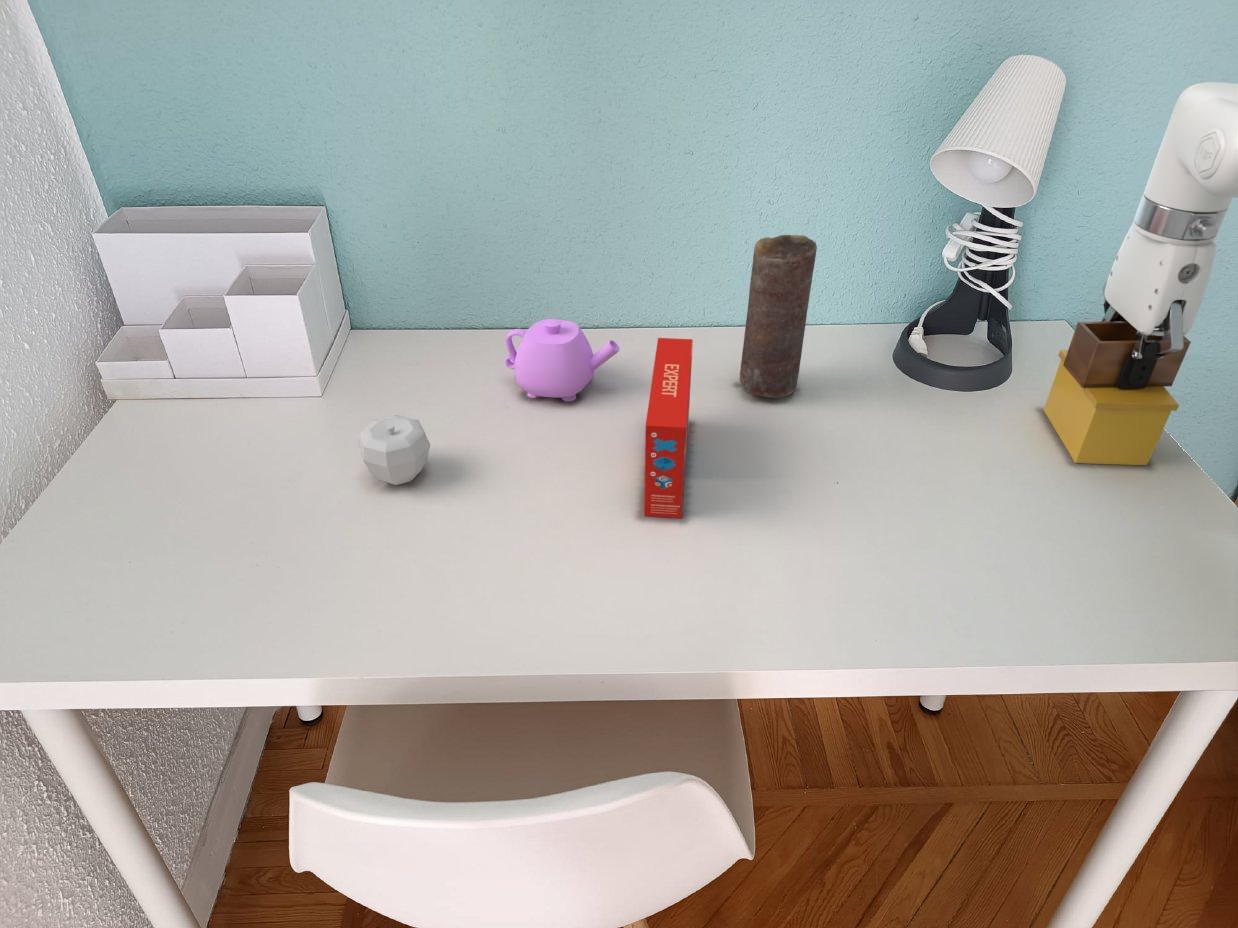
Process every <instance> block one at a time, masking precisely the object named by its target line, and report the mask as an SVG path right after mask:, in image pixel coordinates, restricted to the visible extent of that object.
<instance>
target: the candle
mask: <svg viewBox="0 0 1238 928" xmlns="http://www.w3.org/2000/svg"><path fill="white" fill-rule="evenodd" d="M817 250H818V245H817V242H816V241H814V239H811V238H809V237H808V236H806V235H802V234H781V235H778V236H775V237H769V236H768V237H767V236H766V237H763V238H760V239H759V240H758V241H756V242H755V244H754V248H753V255H752V266H751V274H750V281H749V292H748V303H747V312H746V318H745V329H744V336H743V344H742V345H743V346H742V352H741V359H740V361H741V362H740V371H739V383H740V385H741V387H742V389H743V390H744V391H745V392H746V393H747V394H748V395H752V396H755V397H766V398H774V399H775V398H776V399H779V398H783V397H785V396H787V395H790V394H793V393H794V391H795V390H796V389H797V386H798V380H799V375H800V368H801V360H802V355H803V353H802V352H803V346H804V338H805V332H806V323H807V316H808V310H809V304H810V303H809V302H810V295H811V289H812V283H813V277H814V276H813V275H814V269H815V263H816V257H817Z"/></svg>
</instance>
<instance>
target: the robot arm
mask: <svg viewBox="0 0 1238 928" xmlns="http://www.w3.org/2000/svg"><path fill="white" fill-rule="evenodd" d="M1233 198H1238V83H1234V82H1233V83H1232V82H1223V81H1206V82H1199V83H1195V84H1192V85H1189V86H1188V87H1187V88H1186V89H1184V90H1183V91H1182V92H1181V93H1180V95H1179V96H1178V98H1177V100H1176V102H1175V103H1174V107H1173V110H1172V113H1171V116H1170V117H1169V121H1168V124H1167V127H1166V129H1165V132H1164V134H1163V138H1162V141H1161V143H1160V146H1159V149H1158V152H1157V154H1156V157H1155V160H1154V163H1153V165H1152V169H1151V171H1150V174H1149V177H1148V180H1147V183H1146V185H1145V188H1144V191H1143V194H1142V196H1141V199H1140V202H1139V204H1138V208H1137V210H1136V212H1135V215H1134V218H1133V221H1132V224H1131V226H1130V227H1129V229H1128V231H1127V233H1126V235H1125V237H1124V239H1123V241H1122V243H1121V245H1120V248H1119V250H1118V252H1117V255H1116V257H1115V259H1114V261H1113V264H1112V267H1111V269H1110V272H1109V275H1108V278H1107V281H1105V282H1104V283H1103V285H1102V294H1103V300H1104V303H1103V312H1104V315H1103V317H1102V319H1101V321H1128V322H1129V323H1130V324H1131V325H1132V326H1133V327H1134V328H1136V329H1137V331H1136V336H1135V341H1134V346H1133V351H1132V355H1127V356H1126V359H1125V362H1124V364H1123V367H1122V369H1121V372H1120V374H1119V377H1118V379H1117V382H1116V386H1117V387H1118V388H1119V389H1143V388H1145V387H1146V386H1147V384H1148V382H1149V379H1150V377H1151V375H1152V372H1153V370H1154V367H1155V365H1156V362H1157V360H1158V359H1162V358H1163V356H1165V355H1167V354H1169V353H1172V352H1176V351H1180V350H1182V349H1183V345H1184V344H1183V335H1184V336H1185V335H1187V334H1188V333H1190V330H1191V329H1192V327H1193V325H1194V323H1195V321H1196V318H1197V316H1198V312H1199V310H1200V307H1201V304H1202V302H1203V299H1204V296H1205V293H1206V290H1207V287H1208V283H1209V281H1210V277H1211V274H1212V270H1213V266H1214V261H1215V256H1216V250H1217V249H1216V248H1217V244H1216V243H1215V240H1216V238H1217V236H1218V233H1219V230H1220V229H1221V226H1222V224H1223V221H1224V219H1225V218H1226V217H1225V216H1226V214H1227V213H1228V210H1229V207H1230V205H1231V202H1232V199H1233ZM1155 326H1159V329H1154V328H1155ZM1147 336H1156V338H1155V343H1151V344H1149V345H1147V346H1145V345H1146V340H1147Z"/></svg>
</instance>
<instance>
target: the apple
mask: <svg viewBox="0 0 1238 928" xmlns="http://www.w3.org/2000/svg"><path fill="white" fill-rule="evenodd" d="M357 447H358V450H359V452H360V455H361V459H362V462H363V464H364V465H365V466H366V468H367V470H368V471H369V473H370V475H372V476H373V477H374V478H376V479H377V480H378V481H380V482H383V483H386V484H390V485H395V486H399V485H403V484H406V483H410V482H411V481H413V480H414V479H415V478H416V477H417V475H419V473H420V472H421V471H422V470H423V468H424V466H425V464H426V463H427V461H428V457H429V452H430V449H431V448H430V447H431V442H430V440H429V439H428V436H427V434H426V432H425V430H424V428H423V426H422V424H421V422H420V420H419V419H415V418H411V417H406V416H401V415H397V414H396V415H392V416H387V417H383V418H379V419H375V420H373V421H372V422H371V423H370V424H368V425H367V427H365V428H364V429H363V431H361V432H359V435H358V443H357Z"/></svg>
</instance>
